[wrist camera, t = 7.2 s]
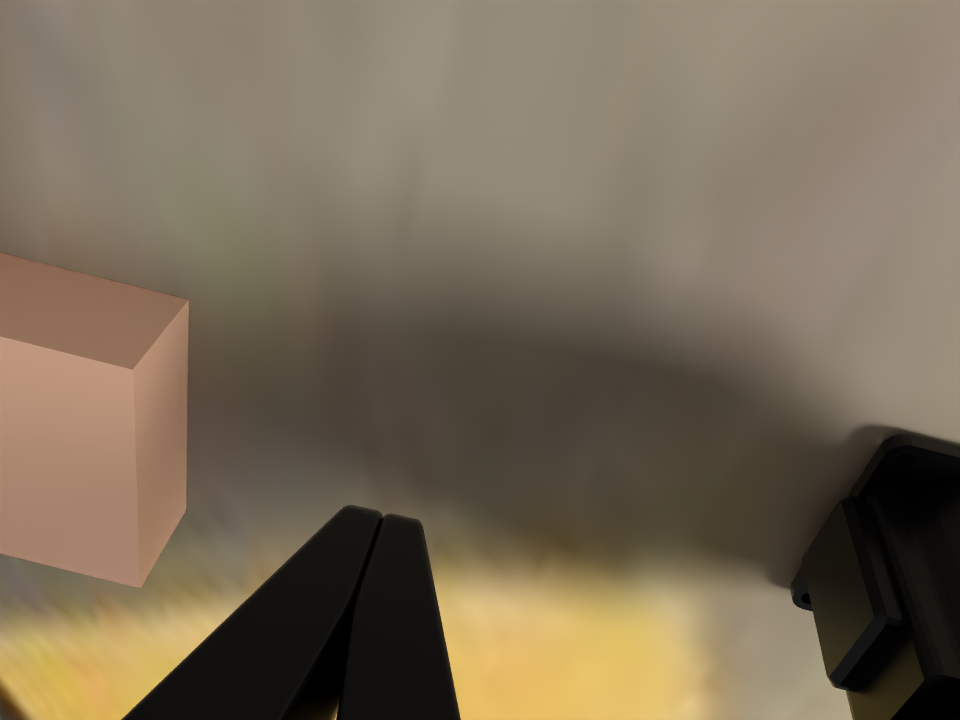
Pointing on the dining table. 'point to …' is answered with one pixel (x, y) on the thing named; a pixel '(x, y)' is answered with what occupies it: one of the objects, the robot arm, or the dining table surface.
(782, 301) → the dining table surface
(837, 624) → the robot arm
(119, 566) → the terracotta block
